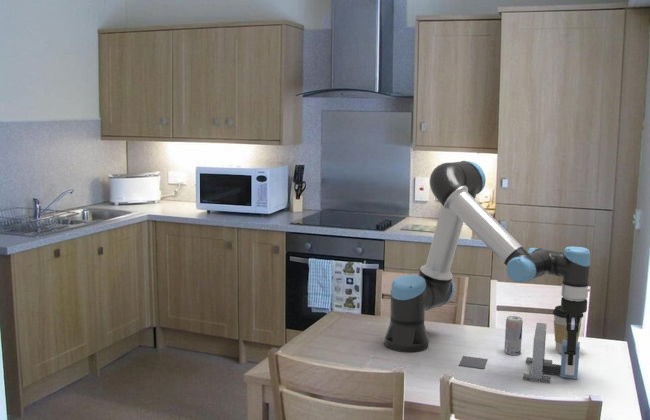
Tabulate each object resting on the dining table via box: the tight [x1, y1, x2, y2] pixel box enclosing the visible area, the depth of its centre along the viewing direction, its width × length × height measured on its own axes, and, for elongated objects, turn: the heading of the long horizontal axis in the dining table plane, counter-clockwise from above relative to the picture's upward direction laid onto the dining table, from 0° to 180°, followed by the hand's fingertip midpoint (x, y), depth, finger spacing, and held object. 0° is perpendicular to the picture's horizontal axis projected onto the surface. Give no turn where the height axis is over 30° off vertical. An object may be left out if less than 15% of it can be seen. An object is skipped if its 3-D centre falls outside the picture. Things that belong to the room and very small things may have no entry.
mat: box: [458, 355, 489, 370], centre depth 231 cm, size 8×9×1 cm
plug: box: [543, 340, 581, 380], centre depth 222 cm, size 12×6×10 cm, turn 70°
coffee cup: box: [552, 304, 584, 355], centre depth 241 cm, size 10×10×15 cm
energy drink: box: [504, 315, 524, 356], centre depth 240 cm, size 5×5×12 cm
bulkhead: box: [522, 322, 553, 384], centre depth 223 cm, size 8×18×13 cm, turn 161°
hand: (569, 370), depth 221 cm, fingers closed on plug, 5 cm apart
